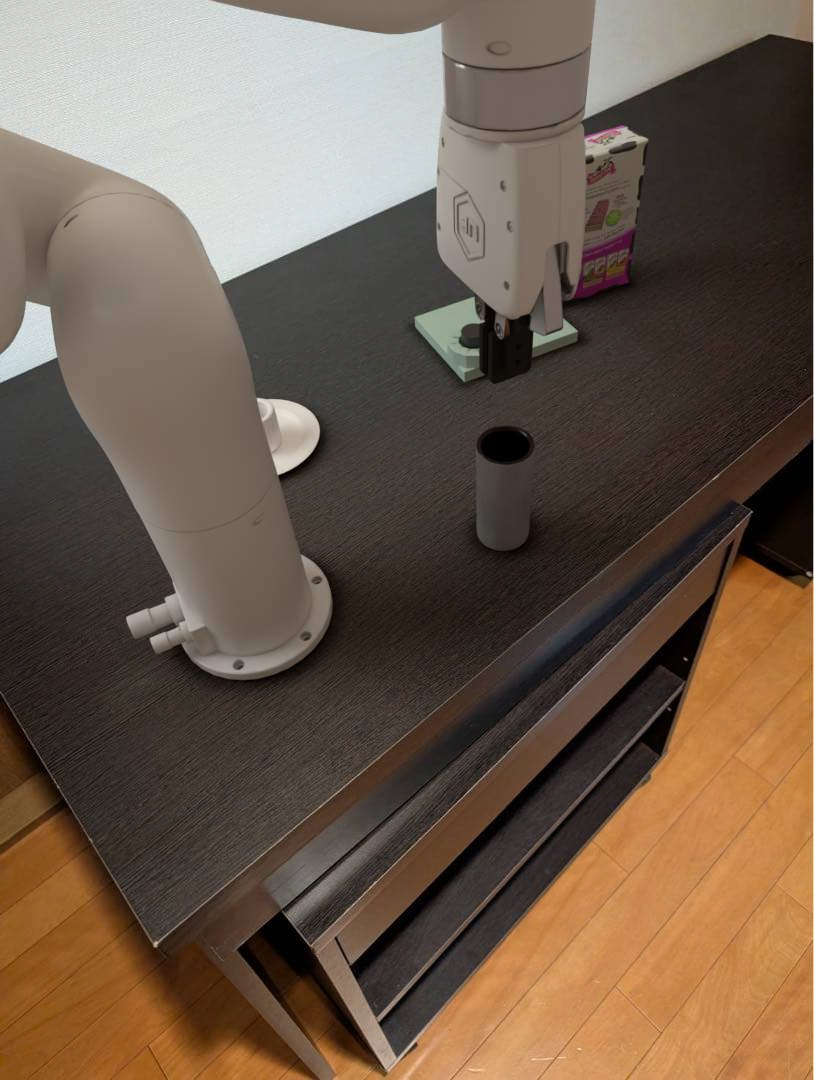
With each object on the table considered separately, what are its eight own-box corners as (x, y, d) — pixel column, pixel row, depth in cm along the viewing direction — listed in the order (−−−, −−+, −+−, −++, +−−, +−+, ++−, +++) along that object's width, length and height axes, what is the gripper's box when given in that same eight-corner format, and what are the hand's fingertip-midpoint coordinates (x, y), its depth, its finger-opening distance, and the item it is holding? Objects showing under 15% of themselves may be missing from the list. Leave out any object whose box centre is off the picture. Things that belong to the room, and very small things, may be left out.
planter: (526, 554, 65) (532, 466, 57) (473, 548, 65) (471, 461, 58) (531, 515, 67) (537, 426, 60) (480, 510, 68) (480, 422, 60)
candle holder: (189, 428, 79) (176, 394, 76) (298, 391, 81) (290, 358, 78) (219, 502, 71) (206, 468, 68) (338, 459, 74) (331, 425, 71)
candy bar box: (605, 265, 93) (624, 122, 81) (629, 284, 90) (652, 138, 78) (525, 291, 91) (531, 148, 78) (547, 312, 88) (557, 166, 75)
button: (468, 352, 79) (468, 340, 78) (457, 340, 81) (456, 327, 80) (490, 345, 80) (490, 332, 79) (478, 332, 81) (478, 320, 80)
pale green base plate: (463, 385, 80) (462, 361, 78) (412, 328, 88) (411, 304, 85) (578, 343, 83) (581, 319, 81) (520, 291, 91) (521, 268, 89)
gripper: (389, 61, 44) (410, 335, 57) (530, 152, 34) (515, 452, 48) (502, 33, 45) (496, 305, 59) (665, 112, 36) (613, 413, 50)
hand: (505, 371), depth 54 cm, fingers closed
